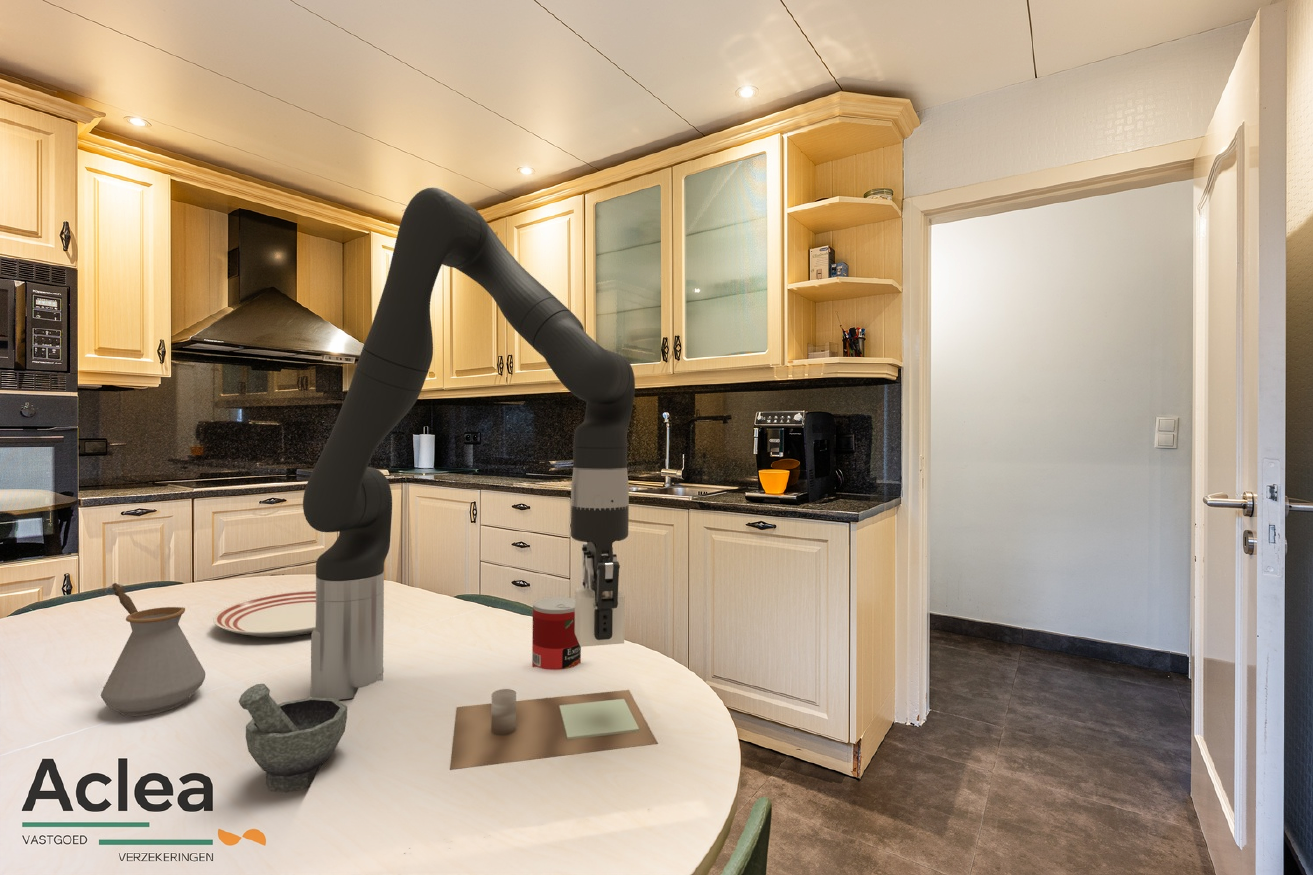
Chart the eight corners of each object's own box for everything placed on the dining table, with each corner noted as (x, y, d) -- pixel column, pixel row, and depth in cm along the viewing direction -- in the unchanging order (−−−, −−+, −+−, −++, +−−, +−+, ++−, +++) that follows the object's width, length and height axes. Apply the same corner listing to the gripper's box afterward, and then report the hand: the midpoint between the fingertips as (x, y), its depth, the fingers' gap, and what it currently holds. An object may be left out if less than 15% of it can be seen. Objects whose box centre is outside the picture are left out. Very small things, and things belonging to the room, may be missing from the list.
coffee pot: (220, 698, 89) (221, 595, 89) (119, 731, 80) (120, 614, 79) (158, 667, 101) (158, 575, 100) (63, 692, 91) (63, 590, 91)
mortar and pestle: (309, 746, 76) (310, 649, 76) (364, 764, 72) (365, 662, 72) (212, 795, 66) (213, 683, 66) (270, 819, 62) (271, 700, 62)
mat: (567, 739, 76) (567, 737, 76) (559, 707, 84) (559, 705, 84) (639, 731, 78) (639, 728, 78) (623, 700, 87) (623, 698, 87)
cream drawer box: (624, 643, 79) (624, 595, 79) (580, 646, 78) (580, 597, 78) (615, 629, 85) (616, 584, 85) (574, 632, 83) (574, 587, 83)
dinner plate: (399, 617, 129) (399, 602, 129) (257, 657, 106) (257, 638, 106) (325, 597, 144) (325, 583, 144) (186, 628, 121) (186, 611, 121)
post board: (449, 782, 69) (450, 729, 69) (456, 717, 84) (456, 673, 84) (657, 755, 75) (658, 706, 75) (628, 699, 91) (629, 659, 91)
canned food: (571, 681, 97) (572, 611, 97) (524, 676, 99) (524, 607, 99) (587, 663, 105) (587, 598, 105) (542, 659, 106) (543, 595, 106)
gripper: (641, 508, 75) (639, 647, 75) (617, 496, 89) (616, 613, 89) (579, 509, 73) (578, 652, 73) (564, 497, 87) (563, 617, 87)
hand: (598, 630), depth 81 cm, fingers closed on cream drawer box, 5 cm apart
